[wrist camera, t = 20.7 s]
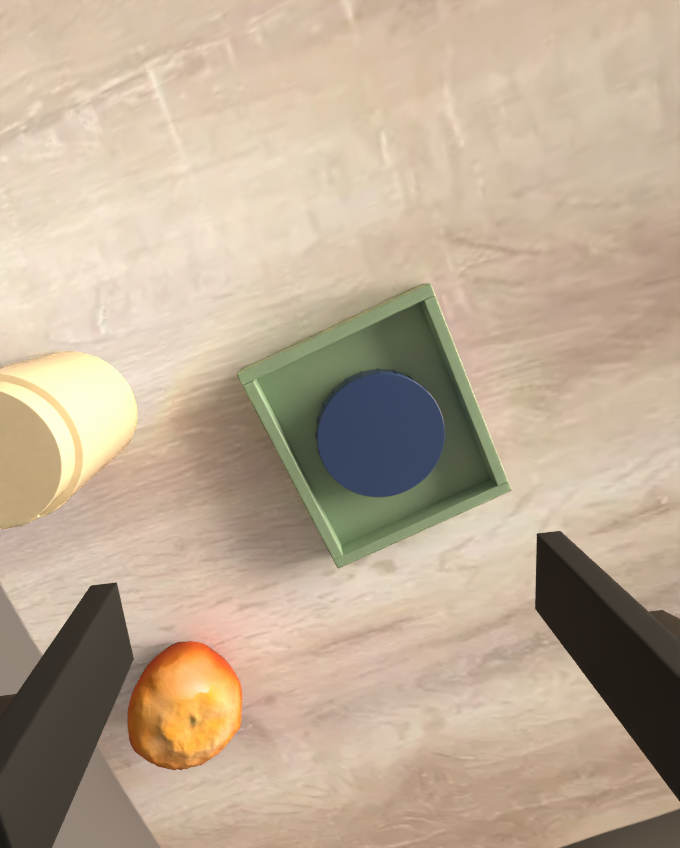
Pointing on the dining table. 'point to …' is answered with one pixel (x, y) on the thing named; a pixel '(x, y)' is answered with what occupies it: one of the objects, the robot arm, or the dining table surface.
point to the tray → (348, 355)
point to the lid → (379, 433)
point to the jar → (58, 430)
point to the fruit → (184, 707)
